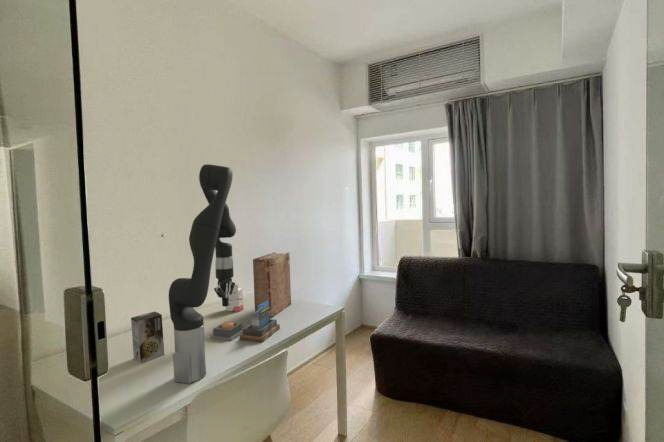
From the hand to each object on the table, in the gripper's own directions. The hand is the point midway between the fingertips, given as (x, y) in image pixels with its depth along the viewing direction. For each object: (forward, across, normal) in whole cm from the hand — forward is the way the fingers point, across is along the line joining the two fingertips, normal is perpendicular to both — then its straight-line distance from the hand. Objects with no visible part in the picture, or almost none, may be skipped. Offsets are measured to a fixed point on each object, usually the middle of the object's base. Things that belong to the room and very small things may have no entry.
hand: (225, 306), depth 154 cm
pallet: (+13, +4, -14) cm, 20 cm away
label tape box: (+11, +4, -15) cm, 19 cm away
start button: (+11, 0, 0) cm, 11 cm away
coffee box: (+14, -26, +17) cm, 34 cm away
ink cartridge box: (+13, +34, +17) cm, 40 cm away
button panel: (+13, 0, 0) cm, 13 cm away
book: (+13, +38, -5) cm, 40 cm away
